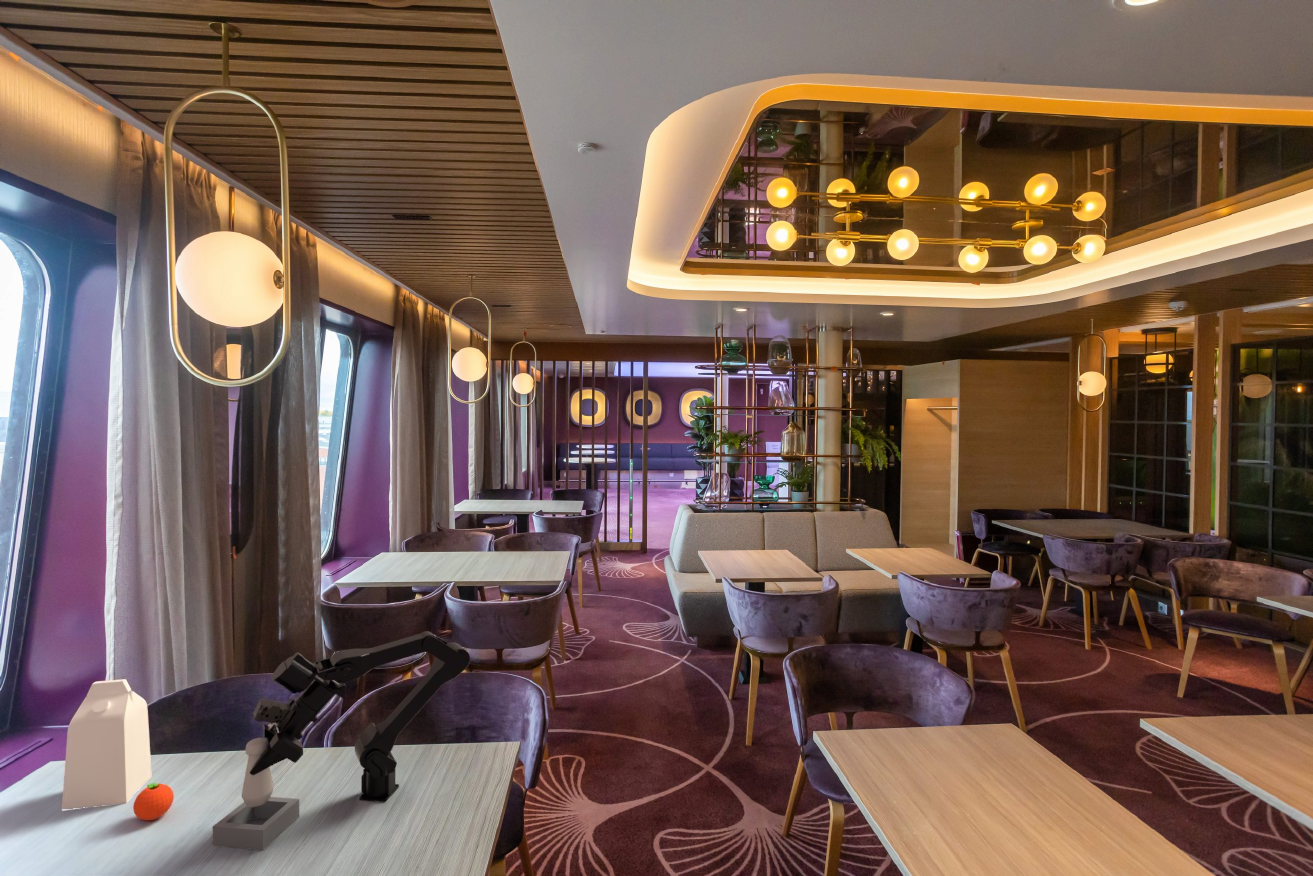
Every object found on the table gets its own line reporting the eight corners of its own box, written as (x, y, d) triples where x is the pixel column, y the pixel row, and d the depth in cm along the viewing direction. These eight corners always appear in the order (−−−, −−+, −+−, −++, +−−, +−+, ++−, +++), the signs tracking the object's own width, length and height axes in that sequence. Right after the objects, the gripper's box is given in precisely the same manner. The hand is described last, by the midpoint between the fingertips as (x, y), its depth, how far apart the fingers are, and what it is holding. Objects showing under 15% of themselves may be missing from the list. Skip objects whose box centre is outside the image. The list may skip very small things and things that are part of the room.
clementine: (127, 817, 137) (127, 785, 137) (166, 802, 143) (166, 771, 143) (138, 832, 133) (138, 798, 133) (178, 816, 138) (178, 783, 138)
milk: (151, 776, 154) (152, 670, 154) (126, 803, 143) (126, 688, 142) (92, 783, 150) (92, 674, 150) (61, 811, 139) (61, 694, 139)
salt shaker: (271, 790, 138) (271, 731, 137) (276, 802, 133) (276, 741, 133) (239, 800, 134) (239, 739, 133) (243, 813, 129) (243, 750, 129)
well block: (299, 817, 138) (299, 799, 138) (263, 850, 127) (263, 830, 127) (252, 813, 139) (252, 795, 139) (212, 846, 128) (212, 826, 128)
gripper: (275, 671, 143) (216, 733, 137) (284, 699, 128) (218, 771, 121) (314, 697, 148) (259, 758, 141) (327, 727, 133) (266, 798, 126)
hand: (250, 770), depth 132 cm, fingers closed on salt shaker, 3 cm apart
